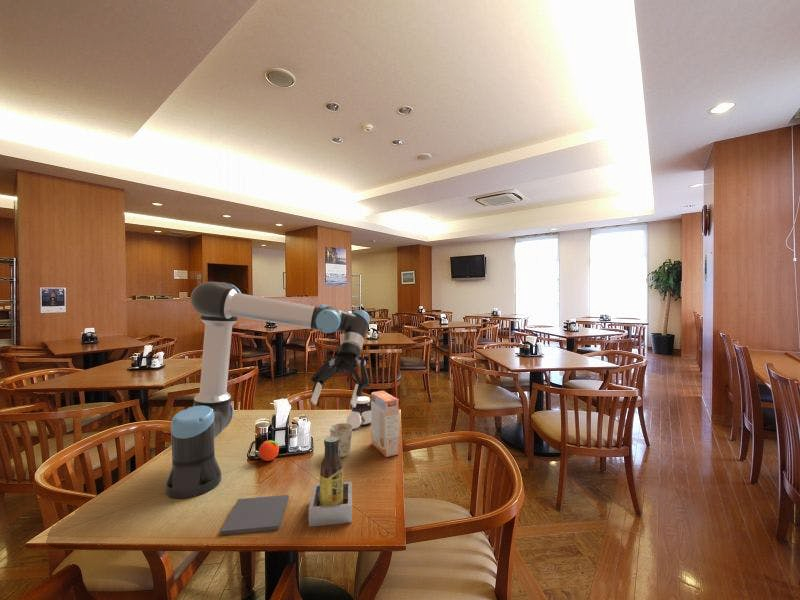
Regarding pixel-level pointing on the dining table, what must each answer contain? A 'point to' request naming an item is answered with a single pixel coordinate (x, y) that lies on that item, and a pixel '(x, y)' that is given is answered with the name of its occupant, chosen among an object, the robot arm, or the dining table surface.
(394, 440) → the cracker box
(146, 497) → the dining table surface
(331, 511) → the grey shallow open box
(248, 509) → the rubber mat
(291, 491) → the dining table surface
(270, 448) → the clementine
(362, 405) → the spread jar
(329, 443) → the sauce bottle
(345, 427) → the mug
